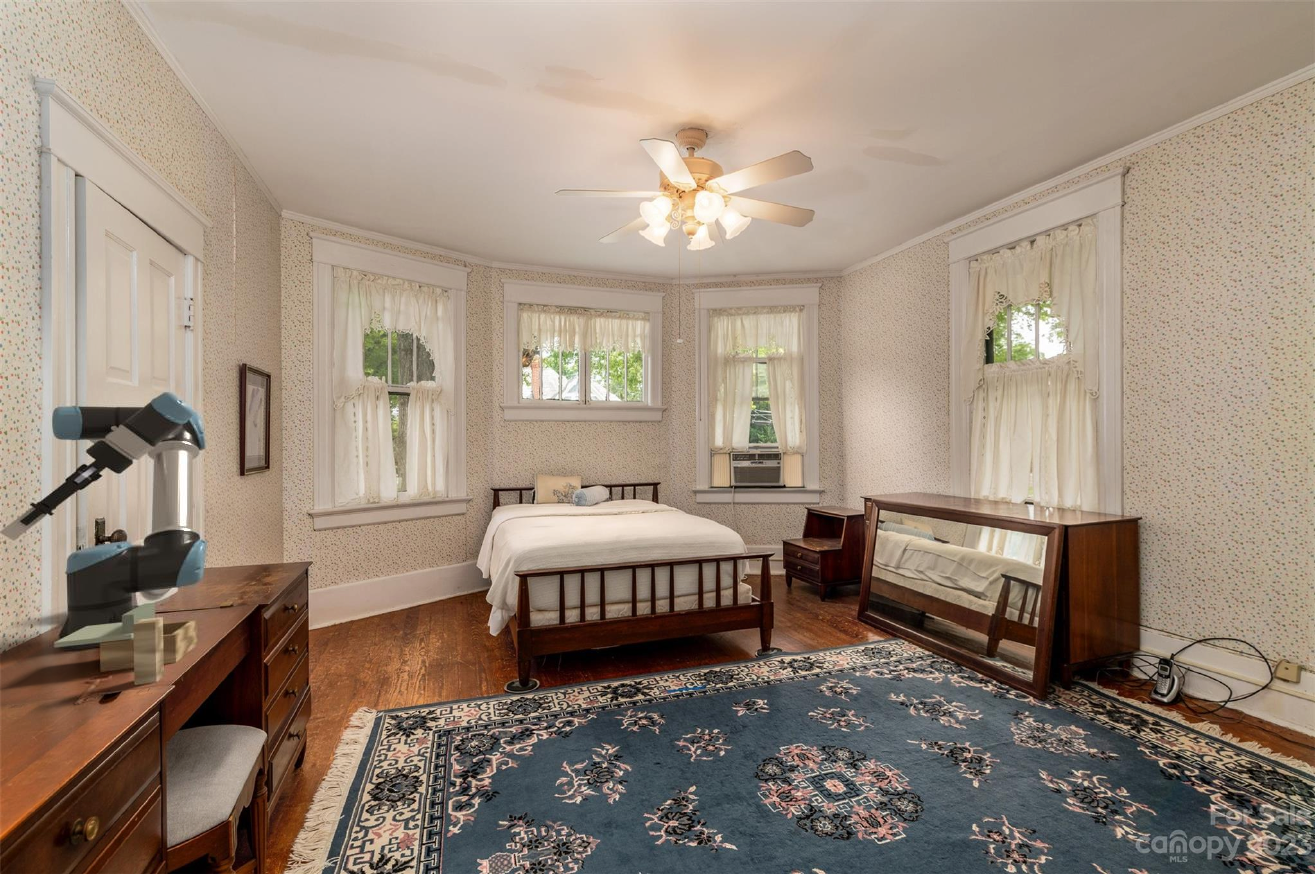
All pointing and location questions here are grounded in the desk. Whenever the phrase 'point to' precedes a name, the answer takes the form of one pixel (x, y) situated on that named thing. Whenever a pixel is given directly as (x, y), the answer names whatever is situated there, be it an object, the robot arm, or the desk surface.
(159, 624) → the block
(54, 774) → the desk surface
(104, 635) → the lid
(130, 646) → the light wooden box
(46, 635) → the desk surface
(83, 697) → the key
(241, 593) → the desk surface
